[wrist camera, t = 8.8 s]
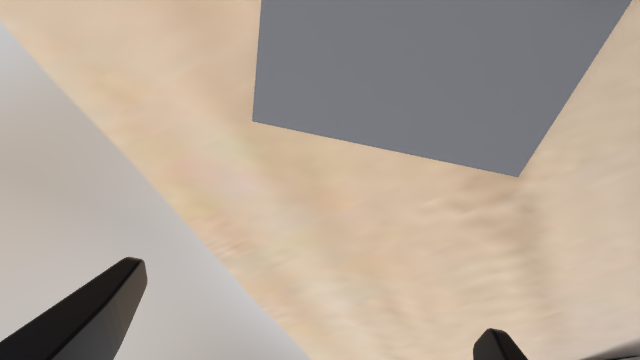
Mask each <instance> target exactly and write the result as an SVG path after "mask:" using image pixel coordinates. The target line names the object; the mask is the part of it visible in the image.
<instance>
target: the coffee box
mask: <svg viewBox="0 0 640 360" xmlns="http://www.w3.org/2000/svg"><path fill="white" fill-rule="evenodd" d="M619 360H640V357H633V358H626V359H619Z"/></svg>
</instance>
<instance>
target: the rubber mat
mask: <svg viewBox="0 0 640 360" xmlns="http://www.w3.org/2000/svg"><path fill="white" fill-rule="evenodd" d="M631 1H632V0H262V1H261V14H260V27H259V40H258V53H257V66H256V79H255V92H254V105H253V118H252V121H253V122H258V123H263V124H268V125H272V126H277V127H282V128H287V129H291V130H296V131H301V132H306V133H310V134H315V135H320V136H325V137H329V138H334V139H339V140H344V141H348V142H353V143H358V144H363V145H367V146H372V147H377V148H382V149H387V150H391V151H396V152H401V153H406V154H410V155H415V156H420V157H425V158H429V159H434V160H439V161H444V162H448V163H453V164H458V165H463V166H467V167H472V168H477V169H482V170H486V171H491V172H496V173H501V174H505V175H510V176H515V177H519V175H520V173H521V172H522V170H523V169H524V167H525V166H526V164H527V163H528V161H529V159H530V158H531V156H532V155H533V153H534V152H535V150H536V149H537V147H538V145H539V144H540V142H541V141H542V139H543V138H544V136H545V135H546V133H547V131H548V130H549V128H550V127H551V125H552V124H553V122H554V121H555V119H556V117H557V116H558V114H559V113H560V111H561V110H562V108H563V107H564V105H565V103H566V102H567V100H568V99H569V97H570V96H571V94H572V93H573V91H574V89H575V88H576V86H577V85H578V83H579V82H580V80H581V79H582V77H583V76H584V74H585V72H586V71H587V69H588V68H589V66H590V65H591V63H592V62H593V60H594V58H595V57H596V55H597V54H598V52H599V51H600V49H601V48H602V46H603V44H604V43H605V41H606V40H607V38H608V37H609V35H610V34H611V32H612V30H613V29H614V27H615V26H616V24H617V23H618V21H619V20H620V18H621V16H622V15H623V13H624V12H625V10H626V9H627V7H628V6H629V4H630V2H631Z"/></svg>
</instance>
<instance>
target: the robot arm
mask: <svg viewBox="0 0 640 360" xmlns="http://www.w3.org/2000/svg"><path fill="white" fill-rule="evenodd" d="M146 285H147V274H146V269H145V263H144V261H143V260H142V259H138V258H133V257H126V258H124V259H122V260H121V261H119V262H118V263H116V264H115V265H113V266H112V267H110V268H109V269H107V270H106V271H104V272H103V273H102V274H100V275H98V276H97V277H95V278H94V279H93V280H91V281H90V282H88V283H87V284H85V285H84V286H82V287H81V288H79V289H78V290H76V291H75V292H73V293H72V294H70V295H69V296H67V297H66V298H64V299H63V300H62V301H60V302H59V303H57V304H56V305H54V306H53V307H51V308H50V309H48V310H47V311H45V312H44V313H42V314H41V315H40V316H38V317H36V318H35V319H33V320H32V321H30V322H29V323H28V324H26V325H25V326H23V327H22V328H20V329H19V330H17V331H16V332H14V333H13V334H11V335H10V336H8V337H7V338H5V339H4V340H2V341H1V342H0V360H113V359H114V357H115V355H116V354H117V352H118V350H119V348H120V346H121V344H122V342H123V339H124V337H125V335H126V332H127V330H128V328H129V326H130V323H131V321H132V319H133V316H134V314H135V312H136V309H137V307H138V305H139V302H140V300H141V298H142V295H143V293H144V291H145V288H146ZM473 358H474V360H528V359H527V358H526V356H525V355H524V354H523V353H522V351H521V350H520V349H519V348H518V346H517V345H516V344H515V343H514V341H513V340H512V339H511V337H510V336H509V335H508V334H507V333H506V332H504V331H502V330H497V329H492V328H489V329H487V330H486V331H485V332H484V333H483V334H482V336H481V337H480V338H479V339H478V340H477V341H476V343H475V345H474V348H473Z"/></svg>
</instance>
